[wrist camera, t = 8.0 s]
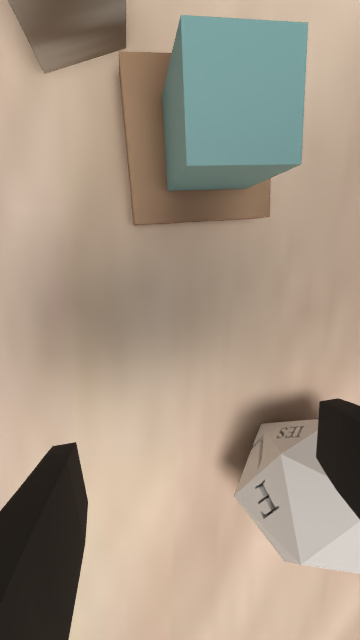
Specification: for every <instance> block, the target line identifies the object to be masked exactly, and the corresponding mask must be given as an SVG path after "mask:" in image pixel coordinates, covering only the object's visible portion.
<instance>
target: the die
mask: <svg viewBox="0 0 360 640" xmlns="http://www.w3.org/2000/svg"><path fill="white" fill-rule="evenodd" d="M317 433H318V419H313V420H301V421H288V422H276V423H264V424H261V426H260V428H259V431H258V433H257V436H256V439H255V441H254V444H253V449H252V450H251V452H250V454H249V457H248V460H247V462H246V465H245V468H244V470H243V473H242V476H241V478H240V481H239V483H238V486H237V489H236V491H235V494H234V496H235V498H236V499H237V500H238V502H239V503H240V504H241V506H242V507H243V508H244V509H245V511H246V512H247V513H248V515H249V516H250V517H251V519H252V520H253V521H254V522H255V524H256V525H257V526H258V528H259V529H260V530H261V532H262V533H263V534H264V535H265V537H266V538H267V539H268V541H269V542H270V543H271V545H272V546H273V547H274V548H275V550H276V551H277V552H278V554H279V555H280V556H281V558H282V559H283V560H284V561H287V562H291V563H295V564H300V565H305V566H312V567H319V568H325V569H332V570H338V571H345V572H351V573H358V574H360V519H359V518H358V517H357V516H356V514H355V513H354V512H353V511H352V509H351V508H350V507H349V506H348V504H347V503H346V502H345V500H344V499H343V498H342V497H341V495H340V494H339V493H338V492H337V490H336V489H335V487H334V486H333V484H332V483H331V481H330V480H329V478H328V477H327V475H326V473H325V472H324V470H323V468H322V467H321V465H320V463H319V462H318V460H317V458H316V448H317Z"/></svg>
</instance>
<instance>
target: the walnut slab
mask: <svg viewBox="0 0 360 640" xmlns="http://www.w3.org/2000/svg"><path fill="white" fill-rule="evenodd" d="M171 55H172V53H151V52H119V74H120V84H121V95H122V105H123V116H124V126H125V137H126V147H127V158H128V168H129V179H130V189H131V200H132V210H133V221H134V225H146V224H164V223H182V222H200V221H218V220H236V219H254V218H263V217H269V216H270V178H269V179H267V180H265V181H263V182H260V183H258V184H256V185H254V186H252V187H249V188H247V189H215V190H177V191H167V175H166V157H165V139H164V121H163V103H162V93H163V89H164V84H165V80H166V76H167V72H168V67H169V63H170V59H171Z"/></svg>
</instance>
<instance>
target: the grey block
mask: <svg viewBox="0 0 360 640" xmlns="http://www.w3.org/2000/svg"><path fill="white" fill-rule="evenodd" d="M8 1H9V3H10V5H11V7H12V9H13V11H14V13H15V15H16V17H17V19H18V21H19V23H20V25H21V27H22V29H23V31H24V33H25V35H26V37H27V39H28V41H29V43H30V45H31V47H32V49H33V51H34V53H35V55H36V57H37V59H38V61H39V63H40V65H41V67H42V69H43V71H44V73H48V72H51V71H55V70H58V69H61V68H64V67H67V66H71V65H74V64H77V63H80V62H83V61H86V60H90V59H93V58H96V57H99V56H102V55H105V54H109V53H112V52H115V51H118V50H121V49H124V48H126V0H8Z"/></svg>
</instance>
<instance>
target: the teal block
mask: <svg viewBox="0 0 360 640" xmlns="http://www.w3.org/2000/svg"><path fill="white" fill-rule="evenodd" d="M307 32H308V23H305V22H288V21H271V20H254V19H238V18H221V17H204V16H187V15H181V17H180V21H179V25H178V29H177V34H176V38H175V42H174V46H173V50H172V55H171V59H170V63H169V67H168V72H167V76H166V80H165V84H164V89H163V93H162V103H163V121H164V139H165V157H166V175H167V191H177V190H215V189H247V188H249V187H252V186H254V185H256V184H258V183H260V182H263V181H265V180H267V179H269V178H272V177H274V176H276V175H278V174H280V173H283V172H285V171H287V170H289V169H292V168H294V167H296V166H298V165H300V164H301V158H302V137H303V116H304V95H305V74H306V53H307Z"/></svg>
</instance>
